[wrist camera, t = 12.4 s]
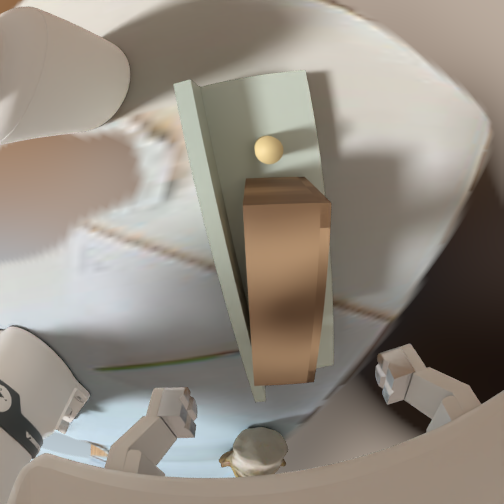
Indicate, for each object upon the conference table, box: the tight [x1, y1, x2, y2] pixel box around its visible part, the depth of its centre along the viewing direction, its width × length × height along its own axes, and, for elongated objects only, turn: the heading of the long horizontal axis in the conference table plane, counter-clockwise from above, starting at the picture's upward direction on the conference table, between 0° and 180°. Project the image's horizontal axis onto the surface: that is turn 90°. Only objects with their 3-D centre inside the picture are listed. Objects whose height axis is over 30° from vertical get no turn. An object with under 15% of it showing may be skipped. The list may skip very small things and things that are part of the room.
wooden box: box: [243, 177, 331, 386], centre depth 18 cm, size 12×4×7 cm, turn 3°
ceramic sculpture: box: [219, 427, 288, 477], centre depth 33 cm, size 11×9×15 cm
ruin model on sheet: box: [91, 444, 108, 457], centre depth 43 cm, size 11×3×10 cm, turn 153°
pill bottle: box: [0, 7, 130, 145], centre depth 10 cm, size 8×8×15 cm
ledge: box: [173, 70, 334, 402], centre depth 21 cm, size 26×8×5 cm, turn 10°
